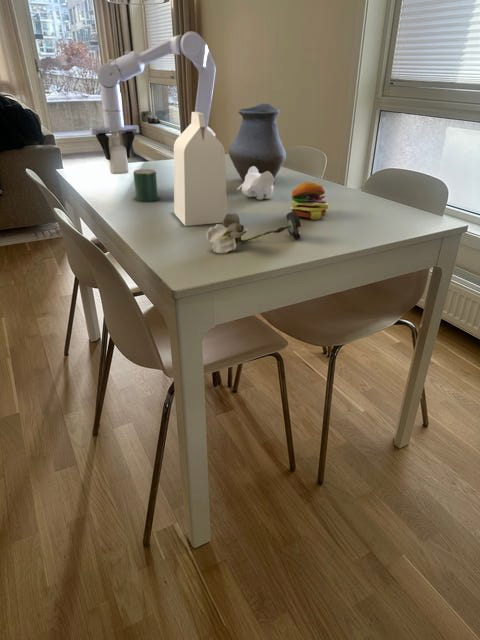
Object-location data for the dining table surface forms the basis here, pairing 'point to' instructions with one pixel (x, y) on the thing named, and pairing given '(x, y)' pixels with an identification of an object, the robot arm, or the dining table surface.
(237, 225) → the artificial flower
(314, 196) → the cheeseburger
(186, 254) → the dining table surface
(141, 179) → the green tin can
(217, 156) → the milk
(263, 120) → the grey clay vase
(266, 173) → the elephant figurine
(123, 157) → the eye dropper bottle
